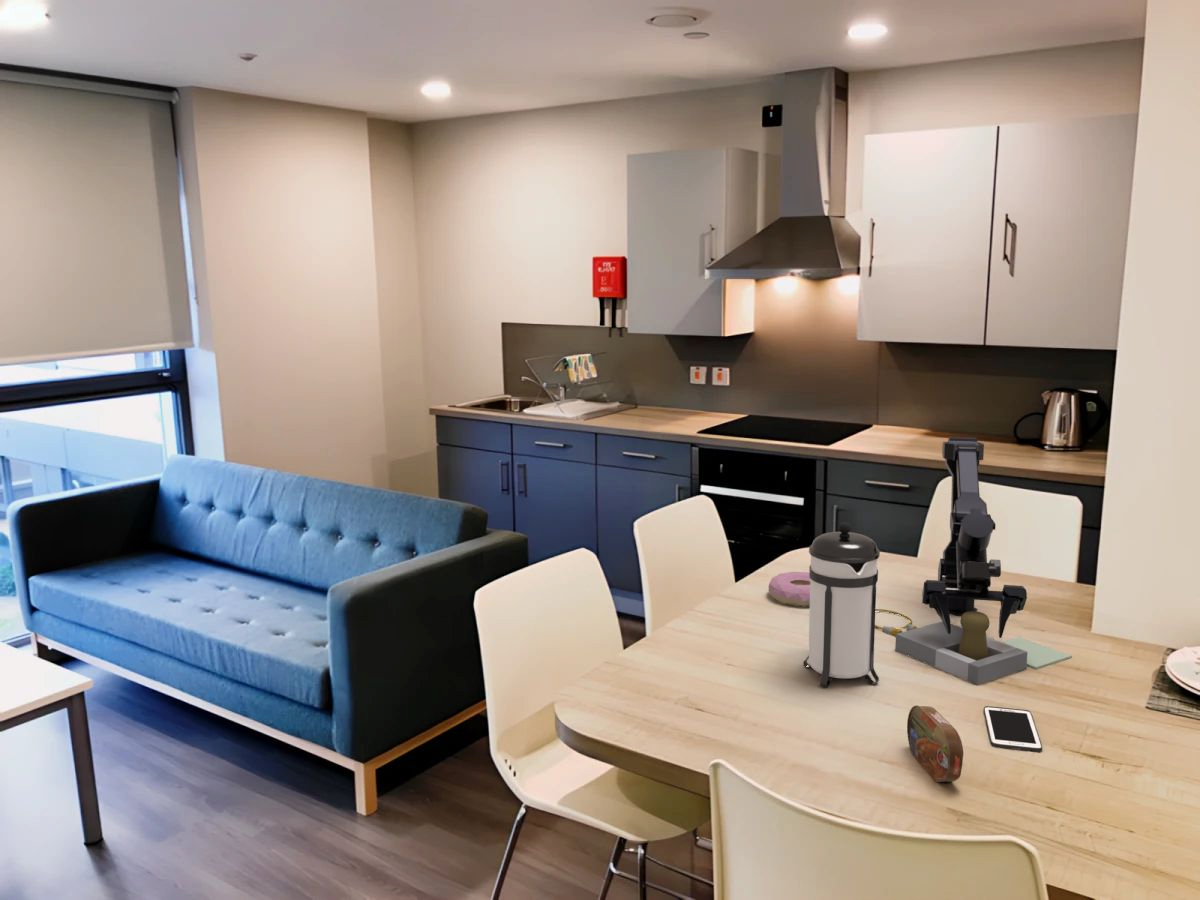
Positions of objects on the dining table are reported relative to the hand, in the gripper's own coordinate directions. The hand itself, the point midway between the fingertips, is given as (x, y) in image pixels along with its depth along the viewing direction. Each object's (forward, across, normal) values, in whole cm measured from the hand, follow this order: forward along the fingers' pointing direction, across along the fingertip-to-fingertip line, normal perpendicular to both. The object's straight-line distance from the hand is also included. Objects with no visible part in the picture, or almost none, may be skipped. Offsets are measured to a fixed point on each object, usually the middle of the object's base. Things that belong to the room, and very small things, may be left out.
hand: (974, 635), depth 186 cm
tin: (+34, -10, -24) cm, 43 cm away
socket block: (+2, -2, +8) cm, 9 cm away
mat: (-3, +11, +13) cm, 17 cm away
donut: (-20, -35, +30) cm, 50 cm away
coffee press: (+10, -26, 0) cm, 28 cm away
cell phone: (+23, +4, -12) cm, 26 cm away
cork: (+4, 0, +6) cm, 7 cm away
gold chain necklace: (-10, -15, +21) cm, 28 cm away
